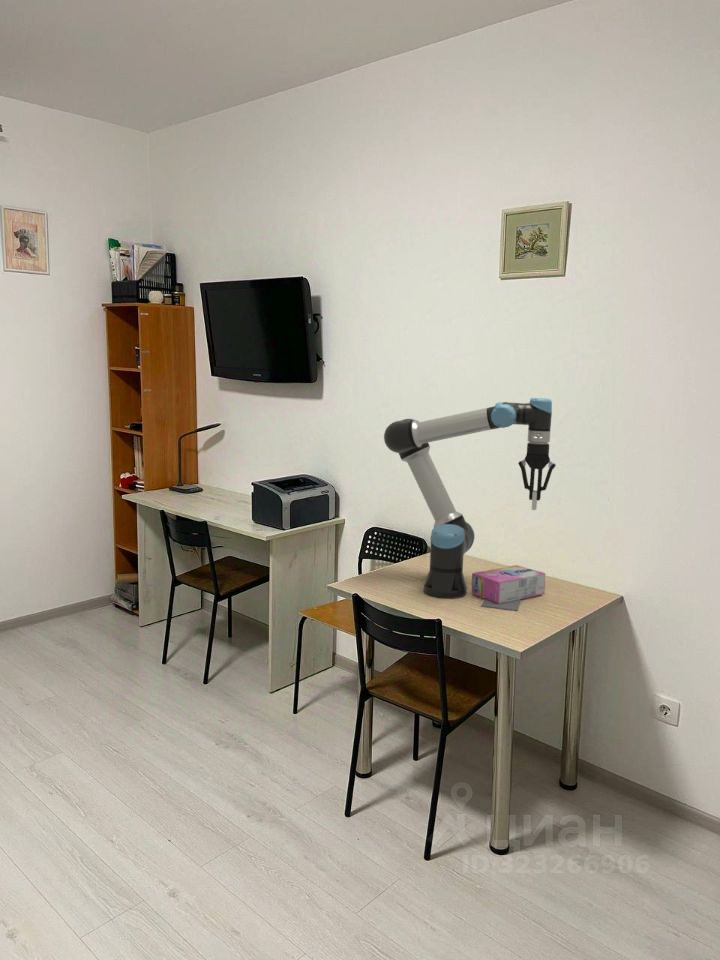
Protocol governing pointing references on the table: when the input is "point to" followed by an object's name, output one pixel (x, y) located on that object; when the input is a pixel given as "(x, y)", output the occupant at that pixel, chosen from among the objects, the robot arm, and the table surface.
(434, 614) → the table surface
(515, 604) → the mat
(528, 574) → the gum box
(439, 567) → the robot arm
